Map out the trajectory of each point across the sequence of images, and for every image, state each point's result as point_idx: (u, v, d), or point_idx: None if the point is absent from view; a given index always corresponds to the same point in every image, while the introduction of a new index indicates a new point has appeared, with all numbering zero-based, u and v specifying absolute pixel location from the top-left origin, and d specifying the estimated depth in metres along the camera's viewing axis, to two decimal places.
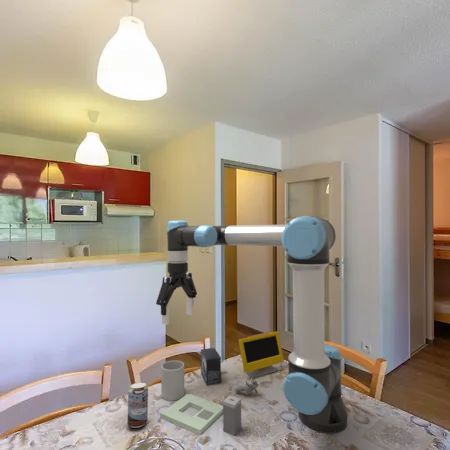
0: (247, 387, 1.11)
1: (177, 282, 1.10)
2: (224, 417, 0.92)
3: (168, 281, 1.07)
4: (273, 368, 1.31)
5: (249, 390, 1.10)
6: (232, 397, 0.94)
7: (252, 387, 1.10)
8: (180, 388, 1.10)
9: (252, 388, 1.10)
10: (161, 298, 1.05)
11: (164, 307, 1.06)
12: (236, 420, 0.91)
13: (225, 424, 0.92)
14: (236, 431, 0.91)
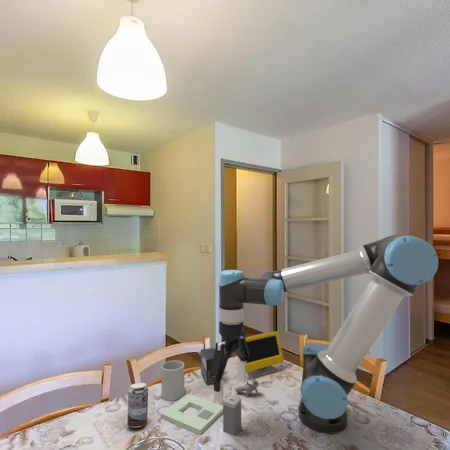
0: (248, 387, 1.11)
1: (232, 348, 0.90)
2: (224, 417, 0.92)
3: (223, 349, 0.87)
4: (273, 368, 1.31)
5: (250, 390, 1.10)
6: (232, 397, 0.94)
7: (253, 387, 1.11)
8: (180, 388, 1.10)
9: (253, 388, 1.11)
10: (215, 372, 0.85)
11: (218, 382, 0.86)
12: (236, 420, 0.91)
13: (225, 424, 0.92)
14: (236, 431, 0.91)
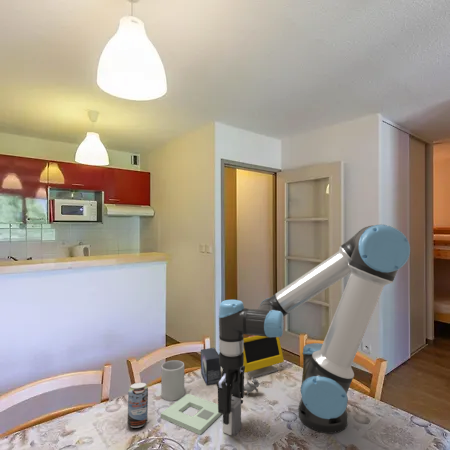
0: (248, 387, 1.11)
1: (233, 380, 0.90)
2: None
3: (224, 386, 0.87)
4: (273, 368, 1.31)
5: (250, 389, 1.11)
6: (232, 397, 0.94)
7: (253, 386, 1.11)
8: (180, 388, 1.10)
9: (253, 387, 1.11)
10: (223, 407, 0.88)
11: (227, 415, 0.89)
12: (236, 420, 0.91)
13: None
14: (236, 431, 0.91)
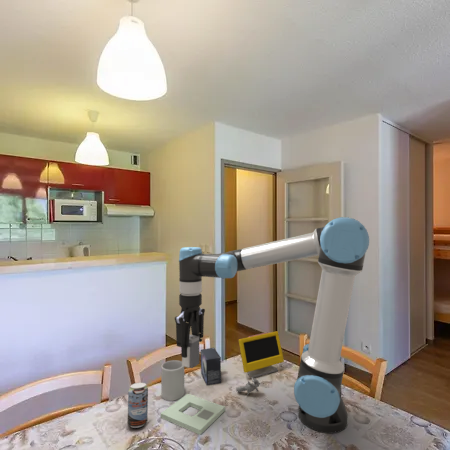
0: (249, 386, 1.11)
1: (191, 318, 0.99)
2: None
3: (182, 321, 0.96)
4: (273, 368, 1.31)
5: (251, 389, 1.11)
6: (191, 335, 1.03)
7: (254, 386, 1.11)
8: (180, 388, 1.10)
9: (254, 387, 1.11)
10: (180, 341, 0.96)
11: (185, 349, 0.98)
12: (193, 355, 0.99)
13: None
14: (193, 364, 0.99)
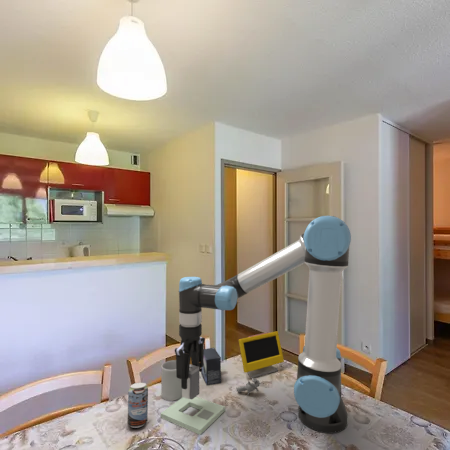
0: (249, 386, 1.11)
1: (191, 349, 0.99)
2: None
3: (182, 353, 0.96)
4: (273, 368, 1.31)
5: (251, 389, 1.11)
6: (191, 365, 1.03)
7: (254, 386, 1.11)
8: (180, 388, 1.10)
9: (254, 387, 1.11)
10: (180, 373, 0.96)
11: (185, 380, 0.98)
12: (193, 386, 0.99)
13: None
14: (193, 395, 0.99)
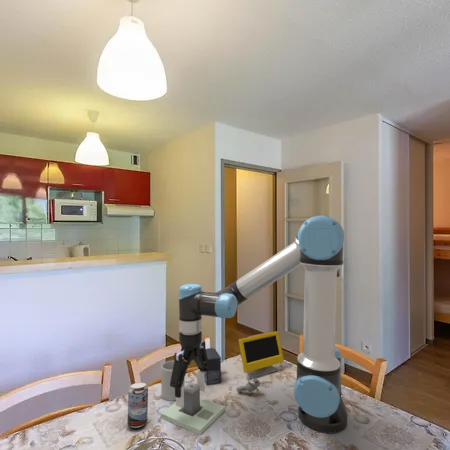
0: (249, 386, 1.11)
1: (190, 356, 0.99)
2: None
3: (181, 359, 0.95)
4: (273, 368, 1.31)
5: (251, 389, 1.11)
6: (192, 384, 1.02)
7: (254, 386, 1.11)
8: None
9: (254, 387, 1.11)
10: (175, 380, 0.94)
11: (179, 389, 0.95)
12: (194, 405, 0.99)
13: (184, 408, 1.00)
14: (194, 414, 0.99)
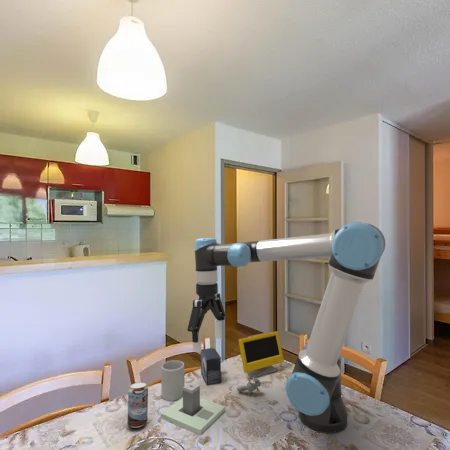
0: (250, 386, 1.11)
1: (208, 305, 1.02)
2: (183, 402, 1.00)
3: (199, 305, 0.98)
4: (273, 368, 1.31)
5: (252, 389, 1.11)
6: (192, 384, 1.02)
7: (255, 386, 1.11)
8: (180, 388, 1.10)
9: (255, 387, 1.11)
10: (193, 324, 0.96)
11: (196, 334, 0.97)
12: (194, 405, 0.99)
13: (184, 408, 1.00)
14: (194, 414, 0.99)
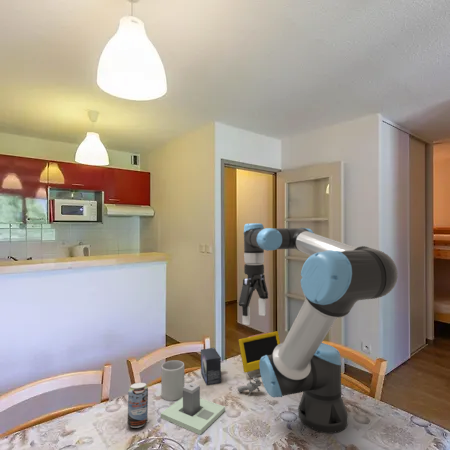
0: (250, 386, 1.11)
1: (255, 283, 1.13)
2: (183, 402, 1.00)
3: (249, 282, 1.10)
4: None
5: (252, 389, 1.11)
6: (192, 384, 1.02)
7: (255, 385, 1.11)
8: (180, 388, 1.10)
9: (255, 386, 1.11)
10: (244, 299, 1.07)
11: (246, 308, 1.08)
12: (194, 405, 0.99)
13: (184, 408, 1.00)
14: (194, 414, 0.99)
